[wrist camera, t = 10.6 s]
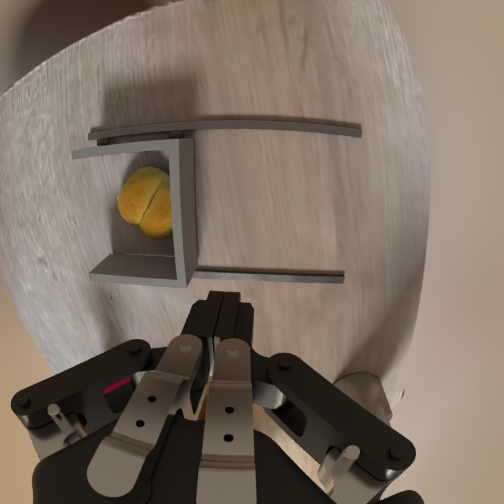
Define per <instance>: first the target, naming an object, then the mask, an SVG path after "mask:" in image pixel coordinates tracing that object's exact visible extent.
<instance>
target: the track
mask: <svg viewBox="0 0 504 504" xmlns="http://www.w3.org/2000/svg"><path fill="white" fill-rule="evenodd" d="M195 129H271V130H291V131H305V132H317V133H327V134H336V135H345V136H352V137H360V138H361V134H362V129H355V128H348V127H340V126H332V125H323V124H312V123H300V122H285V121H262V120H209V121H186V122H171V123H159V124H149V125H140V126H131V127H124V128H117V129H110V130H104V131H98V132H92V133H88V140H95V139H101V138H108V137H115V136H123V135H131V134H140V133H150V132H162V131H176V130H195ZM192 278H204V279H223V280H245V281H270V282H301V283H343V281H344V275H319V274H287V273H260V272H235V271H213V270H195V272H194V274H193V276H192Z"/></svg>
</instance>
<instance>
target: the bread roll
mask: <svg viewBox="0 0 504 504" xmlns="http://www.w3.org/2000/svg"><path fill="white" fill-rule="evenodd" d="M117 200H118V209H119V212H120V214H121V216H122V218H123V219H124V220H125V221H126V222H127V223H129V224H132V225H138V226H140V229H141V230H142V232H143V234H144V235H146V236H147V237H149V238H152V239H161V238H165V237H168V236H169V235H171V234H173V228H172V213H171V195H170V175H169V174H167V173H165V172H164V171H163V170H161V169H159V168H154V167H142V168H140V169H139V170H137V171H135V172H134V174H133V175H132V176H131V177H130V178H129V179H128V180H127V181H126V182H125V183H124V186H123V187H122V189H121V191H120V193H119V194H118V197H117Z"/></svg>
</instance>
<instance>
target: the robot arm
mask: <svg viewBox="0 0 504 504" xmlns="http://www.w3.org/2000/svg"><path fill="white" fill-rule="evenodd" d="M253 322H254V308H253V307H252V305H251V303H243V302H241V294H240V292H224V291H210V292H209V294H208V297H207V300H198V301H197V302H196V303H194V304H193V305H192V308H191V310H190V313H189V315H188V318H187V320H186V322H185V325H184V327H183V330H182V332H181V335H180V336H177V337H175V338H174V339H172V340H171V342H170V343H169V345H168V346H167V347H162V348H152V349H151V347H150V344H149V343H148V342H146V341H144V340H141V339H133V340H129V341H127V342H125V343H123V344H120V345H118V346H116V347H114V348H112V349H110V350H108V351H106V352H104V353H102V354H99V355H97V356H95V357H93V358H91V359H89V360H87V361H85V362H82V363H80V364H78V365H76V366H74V367H72V368H69V369H67V370H65V371H63V372H61V373H59V374H56V375H54V376H52V377H50V378H47V379H45V380H43V381H41V382H39V383H36V384H34V385H32V386H30V387H27V388H25V389H23V390H20V391H19V392H17V393H16V394H15V395H14V396H13V398H12V401H11V408H12V411H13V412H14V413H15V415H16V416H17V417H18V418H19V419H20V420H21V422H22V424H23V425H24V426H25V428H26V429H27V430H28V432H29V435H30V438H31V440H32V443H33V445H34V448H35V450H36V452H37V455H38V457H39V459H40V462H39V463H38V464H37V466H36V467H35V469H34V472H33V476H32V487H33V504H424V502H423V499H422V498H421V496H420V495H419V494H418V493H417V492H415V491H413V490H406V491H403V492H400V493H397V494H395V495H392V496H390V497H388V498H385V499H383V500H380V498H381V495H382V494H383V492H384V491H385V489H386V488H387V487H388V485H389V484H390V483H392V482H393V481H394V480H395V479H396V478H397V477H398V476H399V475H401V474H402V473H403V472H404V471H405V470H406V469H407V468H408V467H409V466H410V465H411V464H412V463H413V462H414V460H415V456H416V450H415V447H414V445H413V444H412V442H411V441H410V440H408V439H407V438H405V437H404V436H403V435H401V434H400V433H398V432H397V431H395V430H394V429H392V428H391V425H390V422H389V421H390V420H391V418H392V412H391V409H390V406H389V403H388V400H387V397H386V394H385V392H384V389H383V386H382V383H381V381H380V378H379V377H373V376H372V375H370V374H366V373H356V374H352V375H349V376H346V377H344V378H342V379H340V380H338V381H337V382H336V383H335V384H332V383H330V382H329V381H328V380H326V379H325V378H324V377H323V376H321V375H320V374H319V373H317V372H316V371H315V370H314V369H312V368H311V367H310V366H309V365H307V364H306V363H305V362H304V361H302V360H301V359H300V358H299V357H297V356H295V355H293V354H290V353H278V354H275V355H273V356H271V357H270V358H267V357H264V356H261V355H259V354H258V353H256V352H255V351H254V350H253V348H252V340H253ZM209 375H211V376H212V382H210V384H209V391H208V400H207V409H206V418H205V420H197V418H198V415H199V412H200V409H201V406H202V403H203V400H204V397H205V394H206V391H207V382H208V377H209ZM127 377H128V378H129V382H127V383H125V384H123V385H121V386H119V387H117V388H115V389H113V390H111V391H110V392H108V393H105V394H104V391H105V390H106V389H107V388H108V387H110V386H112V385H114V384H116V383H118V382H120V381H122V380H123V379H125V378H127ZM253 403H254V404H257V405H260V406H263V408H264V411H265V412H266V413H267V414H268V415H269V416H270V417H271V418H272V419H273V420H274V421H275V422H276V423H277V424H278V425H279V426H280V427H281V428H282V429H283V430H284V431H285V432H286V433H287V434H288V435H289V436H290V437H291V438H292V439H293V440H294V441H295V442H296V443H297V444H298V445H299V446H300V447H301V448H302V449H303V450H305V451H306V452H307V453H308V454H309V455H310V456H311V457H312V458H313V459H314V460H316V461H317V462H318V463H319V464H320V467H319V469H318V479H319V481H320V482H321V483H322V485H323V486H324V488H325V490H326V493H325V492H324V491H323V490H322V489H321V488H320V487H319V486H318V485H317V484H316V483H314V482H313V481H312V480H311V479H310V478H309V477H308V476H307V475H306V474H305V473H304V472H303V471H302V470H301V469H300V468H299V467H298V466H297V464H296V463H295V462H294V461H293V460H292V459H291V458H290V457H289V456H288V455H287V454H286V453H285V452H284V451H283V450H282V449H281V448H280V446H279V445H278V444H277V443H276V442H275V441H274V440H272V439H271V438H270V437H268V436H267V435H265V434H263V433H261V432H259V431H257V430H254V429H253Z"/></svg>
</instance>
